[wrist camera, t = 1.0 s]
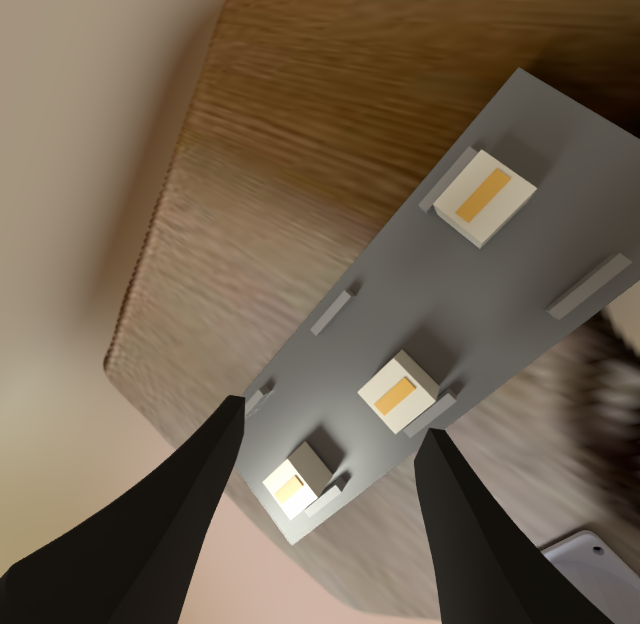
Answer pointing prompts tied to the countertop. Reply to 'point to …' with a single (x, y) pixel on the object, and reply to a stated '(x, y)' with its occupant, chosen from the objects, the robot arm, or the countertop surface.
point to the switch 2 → (483, 198)
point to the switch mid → (400, 392)
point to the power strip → (452, 297)
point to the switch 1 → (298, 480)
